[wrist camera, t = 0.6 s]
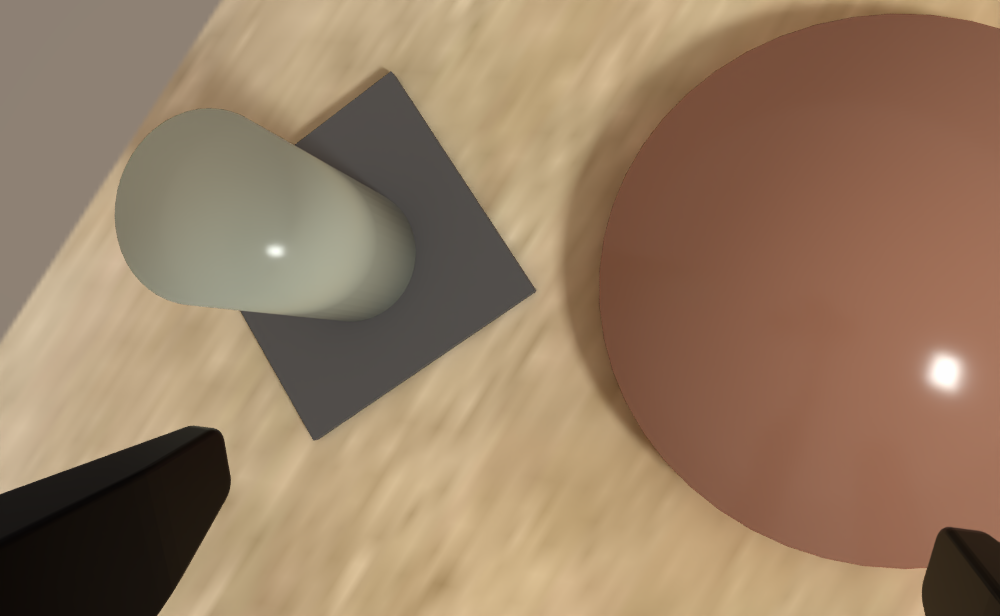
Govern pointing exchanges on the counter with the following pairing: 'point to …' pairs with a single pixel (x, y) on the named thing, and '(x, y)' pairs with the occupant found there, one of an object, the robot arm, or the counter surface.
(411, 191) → the rubber mat
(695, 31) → the counter surface
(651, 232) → the terracotta plate
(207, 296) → the sage canister
